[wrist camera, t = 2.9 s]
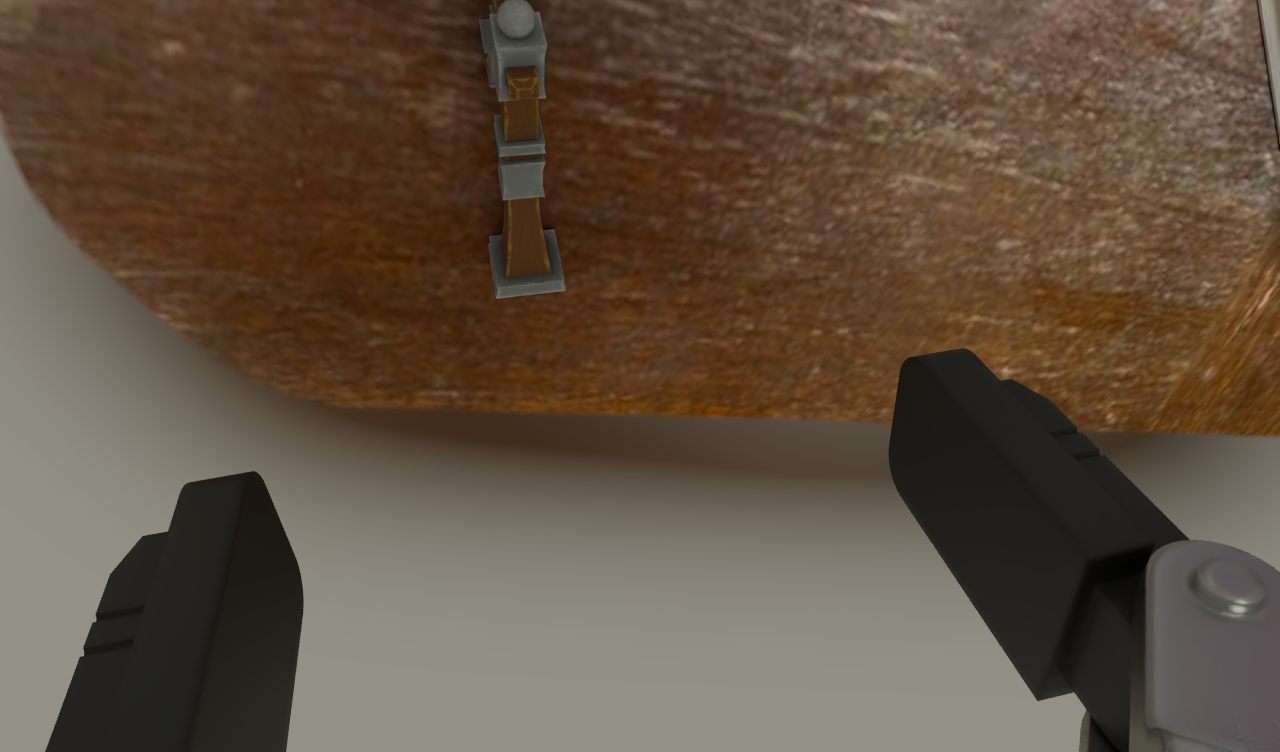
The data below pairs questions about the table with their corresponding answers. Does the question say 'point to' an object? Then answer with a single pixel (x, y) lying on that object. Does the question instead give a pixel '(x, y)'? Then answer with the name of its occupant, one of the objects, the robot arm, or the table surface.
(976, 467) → the robot arm
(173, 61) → the table surface
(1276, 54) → the figurine
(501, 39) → the wooden post with brackets
